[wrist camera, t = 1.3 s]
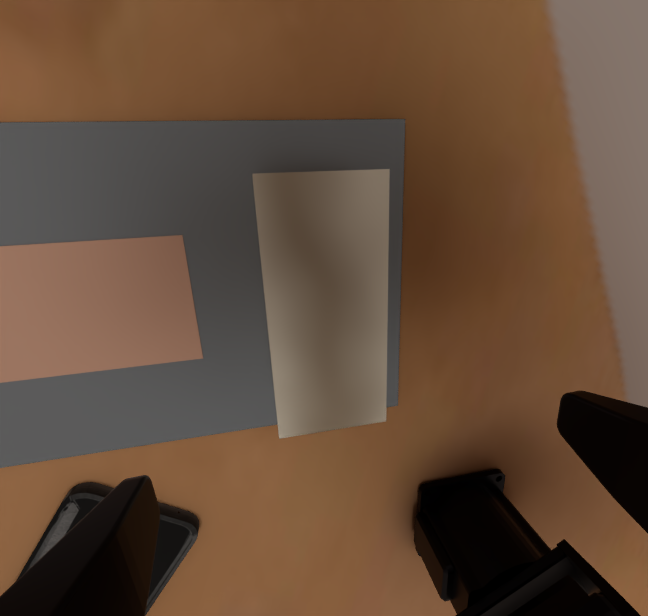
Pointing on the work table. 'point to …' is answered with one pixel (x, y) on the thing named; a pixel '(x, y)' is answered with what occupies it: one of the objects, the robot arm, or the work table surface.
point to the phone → (170, 545)
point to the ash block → (325, 295)
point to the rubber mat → (153, 275)
